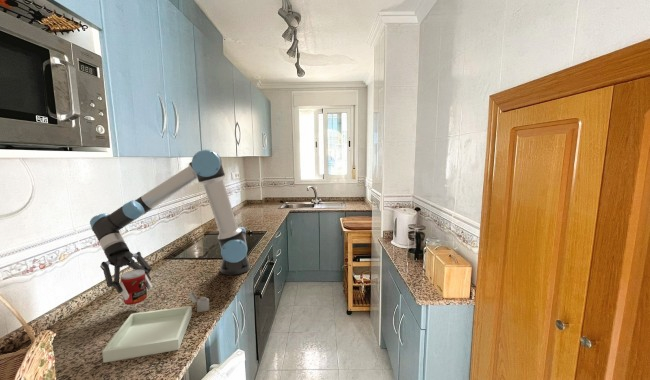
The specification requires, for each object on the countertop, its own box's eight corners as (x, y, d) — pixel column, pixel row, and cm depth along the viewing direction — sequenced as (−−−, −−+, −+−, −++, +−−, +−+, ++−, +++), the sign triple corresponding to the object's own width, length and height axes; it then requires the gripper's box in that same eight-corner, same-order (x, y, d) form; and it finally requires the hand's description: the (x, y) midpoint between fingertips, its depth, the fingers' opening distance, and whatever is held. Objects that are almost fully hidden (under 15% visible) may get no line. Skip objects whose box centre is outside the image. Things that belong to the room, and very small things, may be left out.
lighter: (209, 308, 107) (208, 289, 107) (208, 310, 106) (207, 291, 105) (190, 310, 106) (188, 291, 105) (189, 313, 104) (187, 293, 103)
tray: (191, 314, 103) (191, 305, 103) (178, 349, 84) (178, 339, 84) (131, 322, 98) (131, 313, 97) (103, 362, 79) (102, 351, 78)
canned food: (135, 306, 102) (132, 278, 101) (118, 304, 103) (115, 276, 102) (152, 295, 109) (149, 270, 108) (135, 294, 111) (133, 268, 110)
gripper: (139, 244, 121) (162, 286, 115) (80, 260, 103) (105, 311, 97) (144, 235, 117) (169, 277, 112) (85, 249, 100) (110, 300, 94)
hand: (139, 293), depth 104 cm, fingers closed on canned food, 8 cm apart
